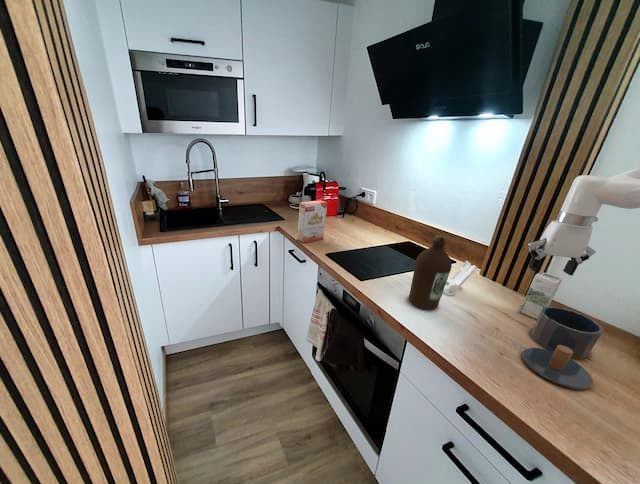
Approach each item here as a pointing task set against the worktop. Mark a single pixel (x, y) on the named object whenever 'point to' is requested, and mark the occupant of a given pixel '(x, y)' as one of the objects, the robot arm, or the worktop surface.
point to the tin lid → (558, 367)
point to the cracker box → (311, 221)
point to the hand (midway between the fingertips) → (549, 271)
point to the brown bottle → (430, 275)
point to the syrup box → (540, 294)
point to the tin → (566, 331)
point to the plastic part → (459, 278)
